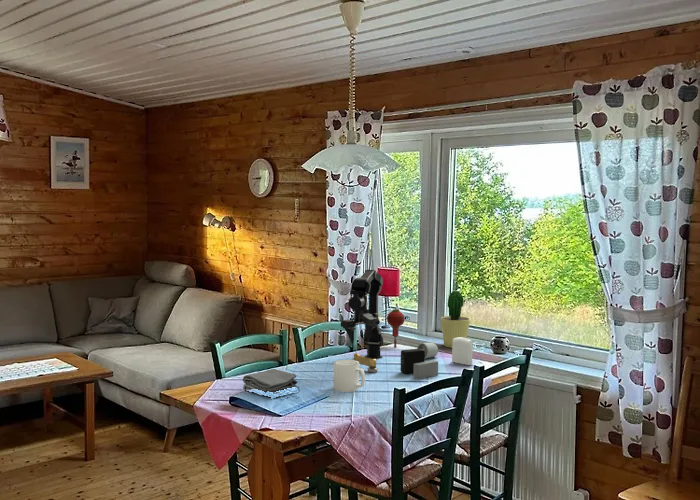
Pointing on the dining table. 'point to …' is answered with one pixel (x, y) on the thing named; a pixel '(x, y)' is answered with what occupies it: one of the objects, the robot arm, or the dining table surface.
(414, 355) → the electronic device
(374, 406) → the dining table surface
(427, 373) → the socket block
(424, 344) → the ceramic mug
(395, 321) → the lantern
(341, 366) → the mug
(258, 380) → the towel
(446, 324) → the potted cactus
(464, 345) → the white rounded block
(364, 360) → the gold bone
